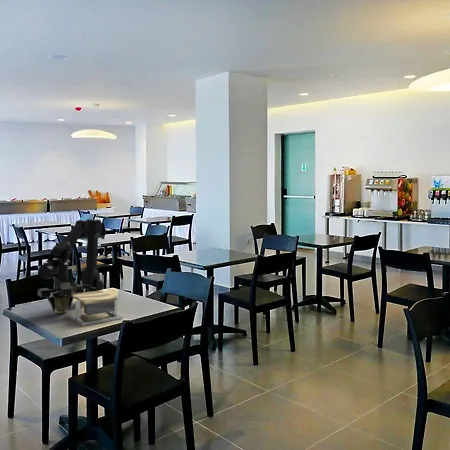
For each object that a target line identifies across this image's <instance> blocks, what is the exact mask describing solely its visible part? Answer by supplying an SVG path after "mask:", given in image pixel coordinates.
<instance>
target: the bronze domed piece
mask: <svg viewBox="0 0 450 450" xmlns="http://www.w3.org/2000/svg"><path fill="white" fill-rule="evenodd" d="M53 296H54V297H55V298H54V306H55V311H56V314H58V315H64V314H65V313H66V310H68V306H69V300H70V296H69V294H68V295H61V293H56V295H55V294H53Z"/></svg>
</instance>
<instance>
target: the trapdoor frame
mask: <svg viewBox="0 0 450 450" xmlns="http://www.w3.org/2000/svg"><path fill="white" fill-rule="evenodd" d="M113 296H114V297H116V298H117V300H115V311H112V312H106V313H107V314H109V315H111V317H106V318H104V317H103V318H99V319H92V320H87V321H85V320H83V319H82V314H81V313H82V302H81V301H78V300H75V307H74V308H75V311H74V312H75V314H74V315H71V316H70V318H71V319H72V320H74V321H75V322H77V323H79V324H80V325H81V326H88V325H94V324H98V323H99V324H100V323H105V322H111V320H112V321H117V320H116V319H118V320H122V319H124V316H122V315H121V314H119V313H118V295H113Z"/></svg>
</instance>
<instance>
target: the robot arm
mask: <svg viewBox="0 0 450 450" xmlns="http://www.w3.org/2000/svg"><path fill="white" fill-rule="evenodd" d="M102 233H103V222H102V220H100V219H90V218H87V219H86V220H83V219H82V220H81V219H78V220H76V221H75V224H74V226H73V227H72V228H71V230H70V231H69V232H68V233H67V235H66V236H65V237H64V239H63V240H61V241H60V242H58V243H56V244H55V245H54V246H53V247H52V249H51V251H50V253H49V255H48V257H47V259H46V262H43V263H42V266H41V267H40V269H39V271H38V272H39V276H40V277H41V278H42V279H43V280H48V279H52V278H53V282H54V283H53V289H50V288H48V287H44V288H38V289H37V296H38V297H40V298H46V299H47V300H48V302H49V305H50V308H51V310H52V312H55V311H56V309H55V306H54V298H55V297H54V296H55V295H57V294H61V295H68V294H69V296H70V300H69V306H68V308H67V310H70V308H71V306H72V303H73V301H74V300H75V298H73V297H71V294H78V293H85V290H87V292H93V291H103V289H104V288H105V283H104V282H103V281H102V279H101V274H100V271H99V270H98V251H99V250H98V248H99V237H100V236H101V235H102ZM83 234H85V236H86V238H87V240H86V261H85V264H86V265H85V269H84V270H83V271H81V274H80V275H81V276H80V281H81V284H82V285H81V284H77V282H76V281H74V282H73V281H72V282H70V278H69V270H68V269H69V265H70V264H71V263H72V262H71V260H69V259H70V257H71V255H72V253H73V247H74V246H75V244H76V243H77V241H78V240H79V239H80V238H81V236H82V235H83ZM84 289H85V290H84ZM53 295H54V296H53Z"/></svg>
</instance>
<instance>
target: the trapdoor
mask: <svg viewBox="0 0 450 450" xmlns="http://www.w3.org/2000/svg"><path fill="white" fill-rule="evenodd" d="M114 296H115V295H111V294H109V293H108V292H105V291H104V290H100V291H93V292H83V293H78V294H71V297H73V298H74V300H75V301H81V304H83V313H84V314H85V315H87V316H91V315H98V314H104V313H107V312H112V311H115V300H117V301H118V297H117V298H116V297H114Z"/></svg>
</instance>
